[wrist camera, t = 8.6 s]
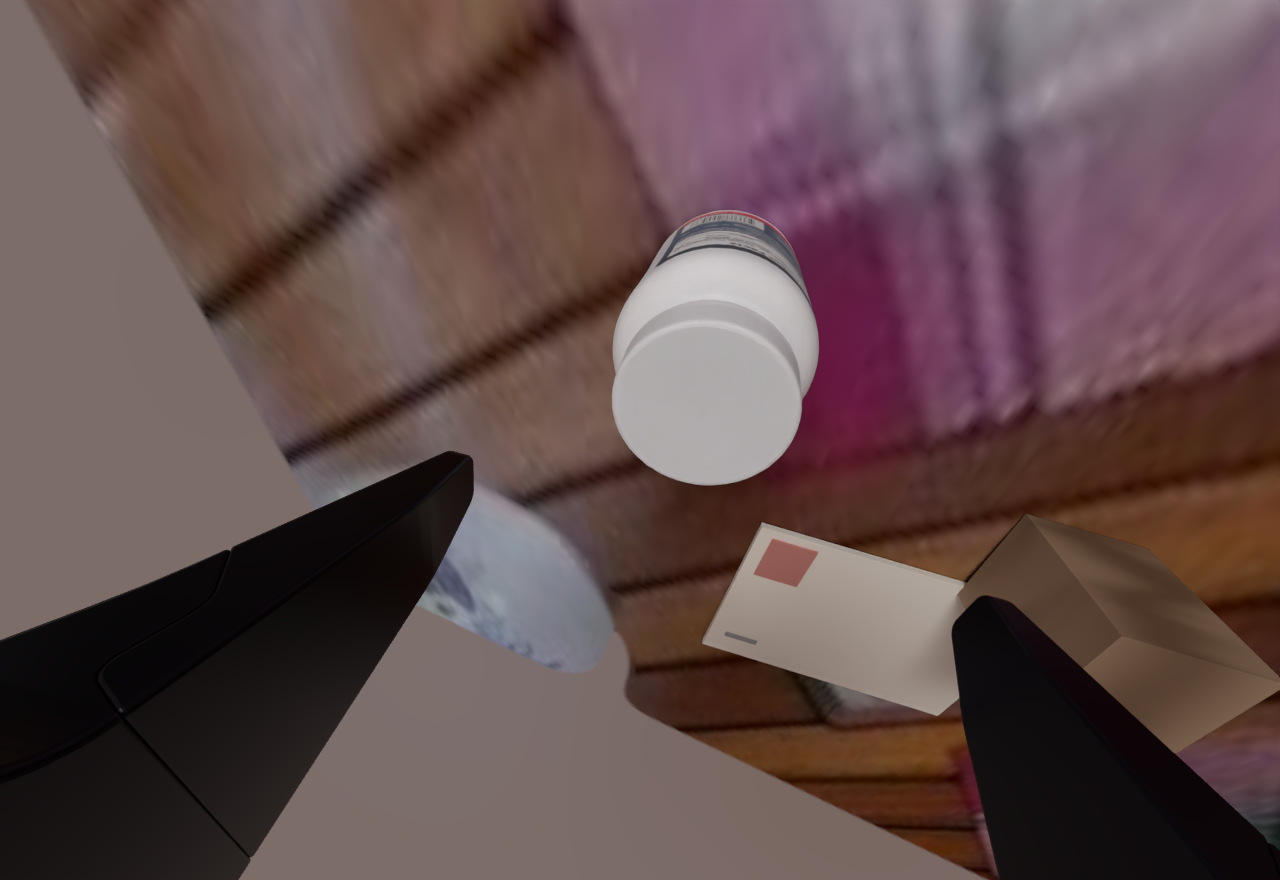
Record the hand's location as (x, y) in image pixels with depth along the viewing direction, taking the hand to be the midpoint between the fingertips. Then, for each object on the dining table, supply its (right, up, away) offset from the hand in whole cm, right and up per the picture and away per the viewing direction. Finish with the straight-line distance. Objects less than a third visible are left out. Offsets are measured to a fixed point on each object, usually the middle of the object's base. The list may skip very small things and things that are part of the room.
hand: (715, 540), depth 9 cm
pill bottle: (+2, +7, +9) cm, 12 cm away
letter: (+10, -8, +17) cm, 21 cm away
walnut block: (+16, -4, +13) cm, 21 cm away
